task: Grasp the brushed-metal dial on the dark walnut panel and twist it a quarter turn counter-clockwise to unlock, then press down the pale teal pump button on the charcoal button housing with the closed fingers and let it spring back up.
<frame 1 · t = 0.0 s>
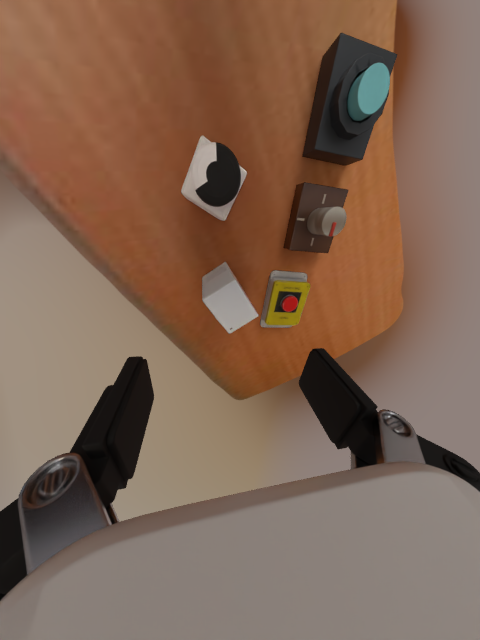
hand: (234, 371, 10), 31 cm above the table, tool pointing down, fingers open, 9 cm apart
emergency button: (281, 300, 45), on the table
button housing: (335, 117, 29), on the table
small box: (223, 283, 40), on the table
dial: (325, 221, 32), point 6 cm above the table, hinge at 0.0°
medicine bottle: (212, 189, 31), on the table
lock panel: (309, 221, 37), on the table
pump: (367, 94, 24), point 7 cm above the table, slide at 0.1 cm
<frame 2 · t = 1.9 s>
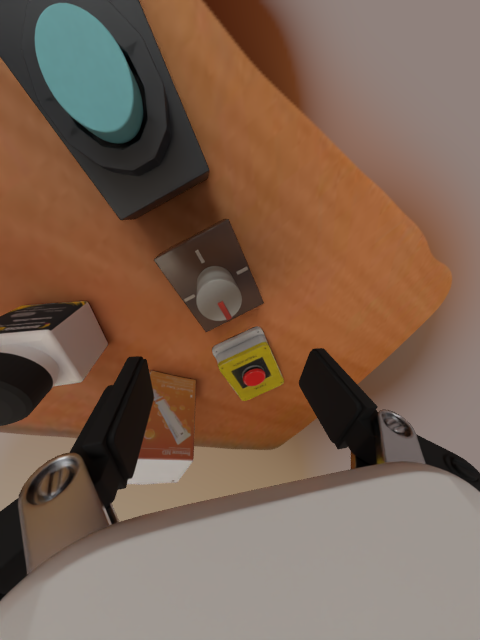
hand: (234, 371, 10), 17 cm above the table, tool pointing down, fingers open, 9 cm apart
emergency button: (250, 363, 34), on the table
button housing: (132, 131, 16), on the table
small box: (169, 385, 33), on the table
dial: (217, 292, 19), point 6 cm above the table, hinge at 0.0°
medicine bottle: (71, 325, 24), on the table
lock panel: (213, 276, 24), on the table
pump: (97, 86, 10), point 7 cm above the table, slide at 0.1 cm
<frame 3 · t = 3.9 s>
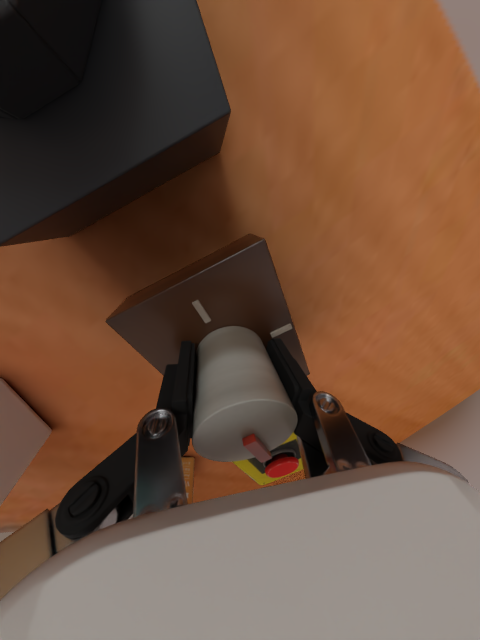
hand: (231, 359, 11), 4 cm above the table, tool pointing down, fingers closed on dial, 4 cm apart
emergency button: (271, 431, 24), on the table
button housing: (33, 20, 6), on the table
small box: (155, 464, 23), on the table
dial: (237, 387, 9), point 6 cm above the table, hinge at 0.1°, touching gripper
lock panel: (225, 329, 14), on the table
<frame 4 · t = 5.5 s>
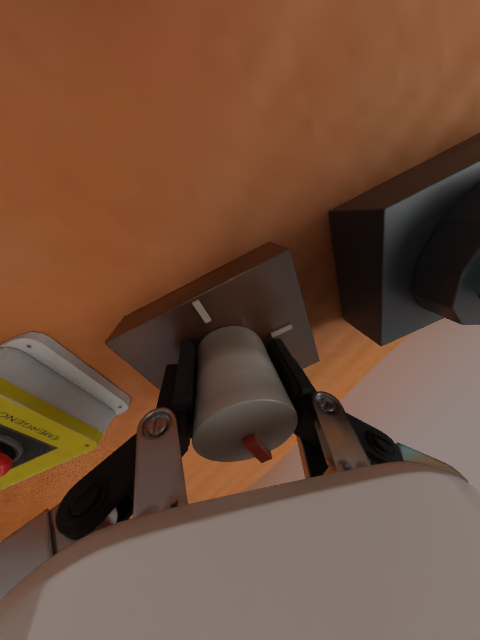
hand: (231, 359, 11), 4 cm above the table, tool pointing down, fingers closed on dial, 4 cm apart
emergency button: (16, 406, 14), on the table
button housing: (405, 240, 13), on the table
dial: (237, 387, 9), point 6 cm above the table, hinge at 90.2°, touching gripper
lock panel: (225, 328, 14), on the table
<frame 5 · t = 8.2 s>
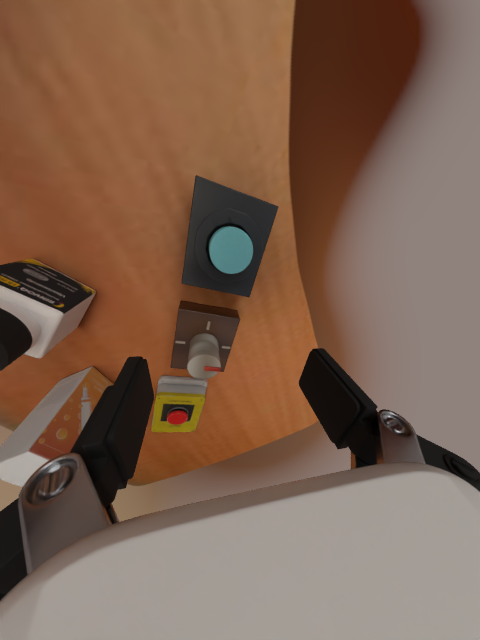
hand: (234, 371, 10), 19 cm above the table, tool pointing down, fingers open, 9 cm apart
emergency button: (179, 401, 38), on the table
button housing: (223, 243, 24), on the table
small box: (95, 385, 32), on the table
dial: (204, 355, 26), point 6 cm above the table, hinge at 88.8°
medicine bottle: (58, 295, 24), on the table
lock panel: (203, 334, 31), on the table
pump: (230, 250, 18), point 7 cm above the table, slide at 0.1 cm
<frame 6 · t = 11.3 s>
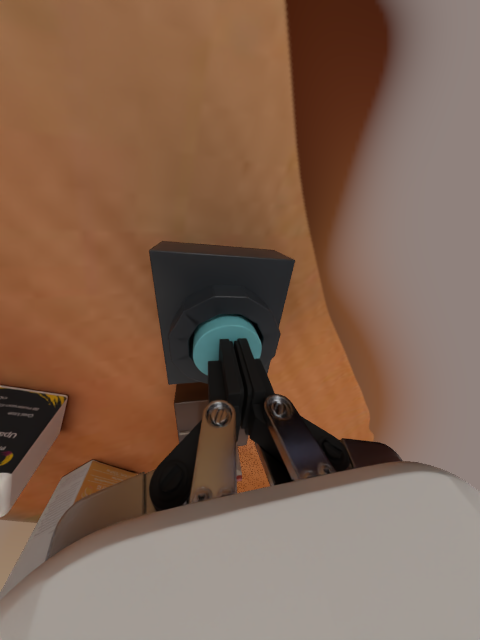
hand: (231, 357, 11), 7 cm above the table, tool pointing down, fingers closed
button housing: (219, 307, 17), on the table
small box: (102, 472, 28), on the table
dial: (218, 452, 19), point 6 cm above the table, hinge at 88.8°
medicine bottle: (24, 407, 19), on the table
lock panel: (214, 405, 24), on the table
pump: (226, 344, 12), point 6 cm above the table, slide at -0.8 cm, touching gripper
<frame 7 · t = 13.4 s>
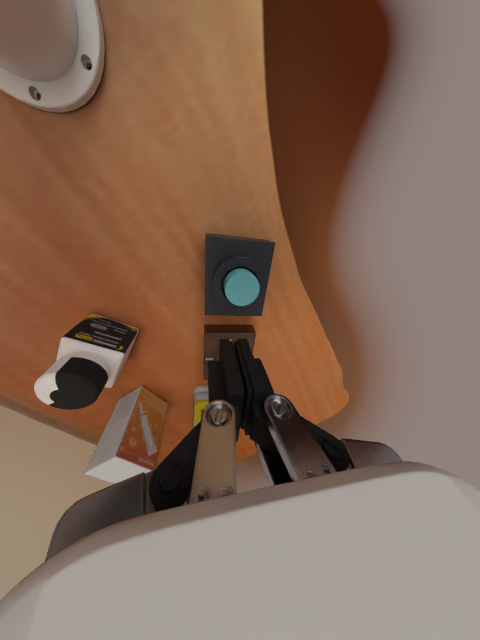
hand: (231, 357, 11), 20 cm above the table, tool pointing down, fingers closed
emergency button: (213, 405, 44), on the table
button housing: (233, 274, 29), on the table
small box: (145, 400, 39), on the table
dial: (230, 368, 31), point 6 cm above the table, hinge at 88.8°
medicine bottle: (112, 336, 30), on the table
lock panel: (226, 348, 36), on the table
pump: (241, 287, 23), point 7 cm above the table, slide at 0.1 cm
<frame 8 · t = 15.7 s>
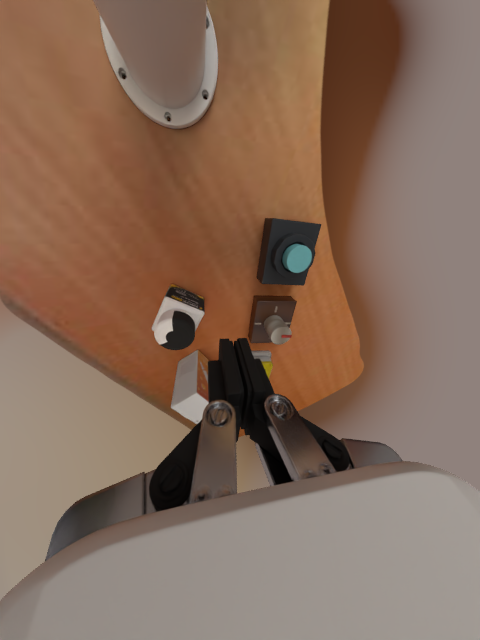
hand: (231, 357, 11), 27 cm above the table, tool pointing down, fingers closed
emergency button: (250, 370, 51), on the table
button housing: (281, 251, 36), on the table
small box: (197, 363, 46), on the table
dial: (277, 329, 38), point 6 cm above the table, hinge at 88.8°
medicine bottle: (182, 304, 38), on the table
lock panel: (268, 317, 43), on the table
pump: (296, 258, 30), point 7 cm above the table, slide at 0.1 cm
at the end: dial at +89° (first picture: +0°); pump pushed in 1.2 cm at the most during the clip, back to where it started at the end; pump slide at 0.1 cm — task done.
